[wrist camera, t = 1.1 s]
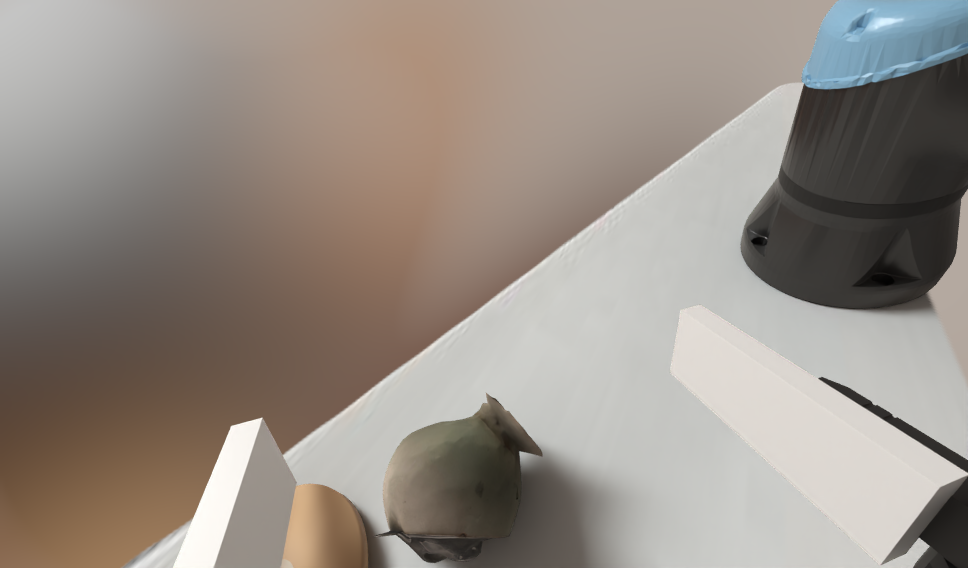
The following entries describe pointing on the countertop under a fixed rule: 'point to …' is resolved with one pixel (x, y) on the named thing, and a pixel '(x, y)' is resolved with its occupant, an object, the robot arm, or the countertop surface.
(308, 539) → the lazy susan
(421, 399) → the countertop surface
